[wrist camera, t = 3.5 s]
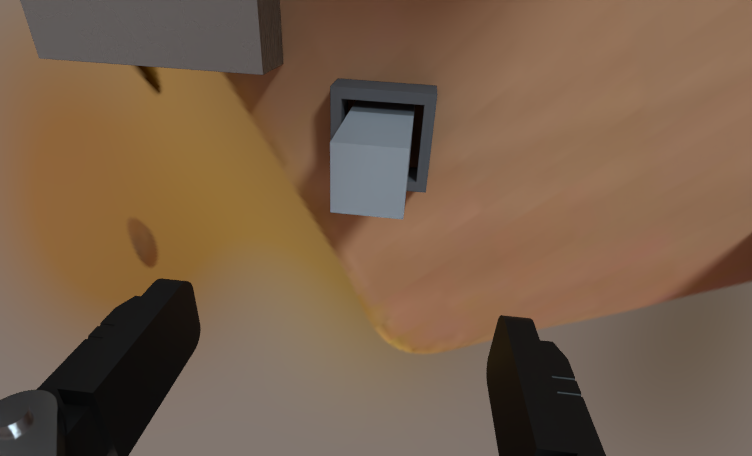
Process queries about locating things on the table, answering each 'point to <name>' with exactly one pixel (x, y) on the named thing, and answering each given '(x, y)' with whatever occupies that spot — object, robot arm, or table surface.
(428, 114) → the dark grey square frame
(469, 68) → the table surface
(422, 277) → the table surface
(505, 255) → the table surface
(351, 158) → the plug
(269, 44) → the port panel
